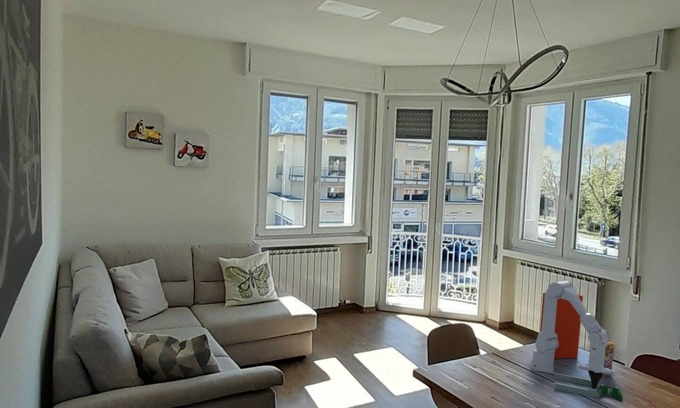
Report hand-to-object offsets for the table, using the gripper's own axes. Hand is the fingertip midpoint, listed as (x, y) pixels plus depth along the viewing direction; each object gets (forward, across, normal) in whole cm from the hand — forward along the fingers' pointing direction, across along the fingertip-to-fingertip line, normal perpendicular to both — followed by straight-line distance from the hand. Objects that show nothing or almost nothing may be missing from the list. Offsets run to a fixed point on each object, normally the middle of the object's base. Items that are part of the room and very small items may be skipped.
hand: (593, 388), depth 210 cm
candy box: (+2, +6, +21) cm, 22 cm away
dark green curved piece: (+2, +6, -2) cm, 6 cm away
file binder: (+2, -13, +36) cm, 39 cm away
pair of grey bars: (+1, -7, 0) cm, 7 cm away
